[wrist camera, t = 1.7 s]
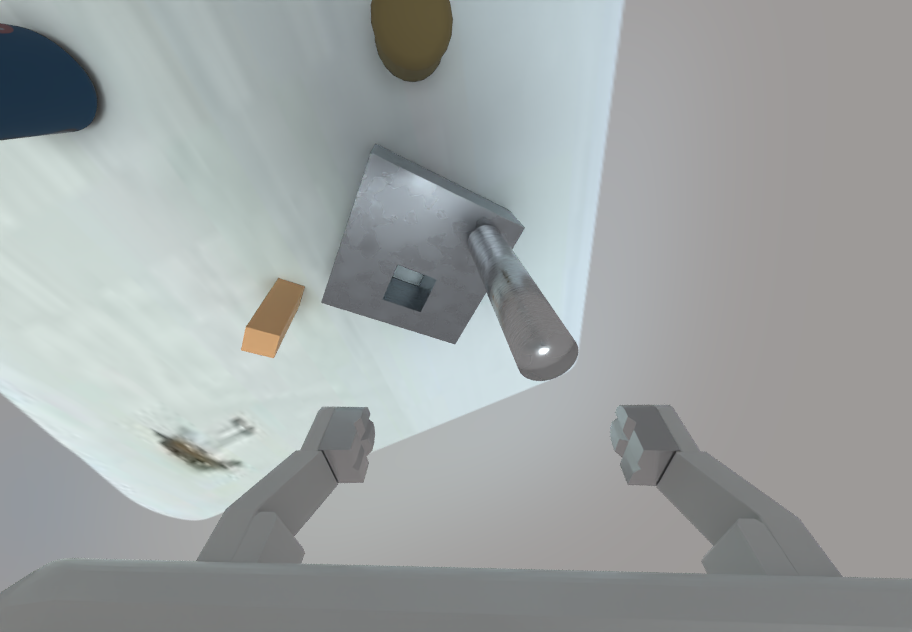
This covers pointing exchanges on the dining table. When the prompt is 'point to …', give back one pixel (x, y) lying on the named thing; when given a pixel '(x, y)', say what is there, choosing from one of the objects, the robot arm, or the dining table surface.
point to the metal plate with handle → (442, 264)
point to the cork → (411, 35)
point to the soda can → (41, 87)
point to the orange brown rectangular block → (272, 319)
